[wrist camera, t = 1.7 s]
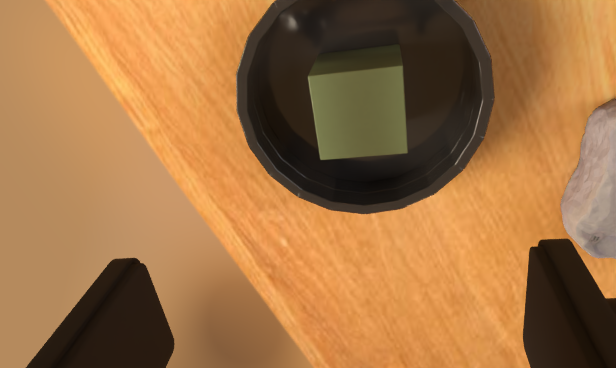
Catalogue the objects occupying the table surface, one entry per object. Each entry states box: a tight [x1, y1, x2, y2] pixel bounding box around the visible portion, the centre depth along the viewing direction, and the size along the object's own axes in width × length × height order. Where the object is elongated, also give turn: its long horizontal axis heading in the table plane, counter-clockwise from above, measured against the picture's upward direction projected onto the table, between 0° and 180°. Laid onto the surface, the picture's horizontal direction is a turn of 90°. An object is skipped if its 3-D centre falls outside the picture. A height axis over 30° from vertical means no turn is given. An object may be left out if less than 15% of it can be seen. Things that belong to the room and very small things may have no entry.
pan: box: [236, 0, 495, 214], centre depth 26 cm, size 13×13×4 cm
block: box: [308, 44, 408, 160], centre depth 25 cm, size 4×4×4 cm
